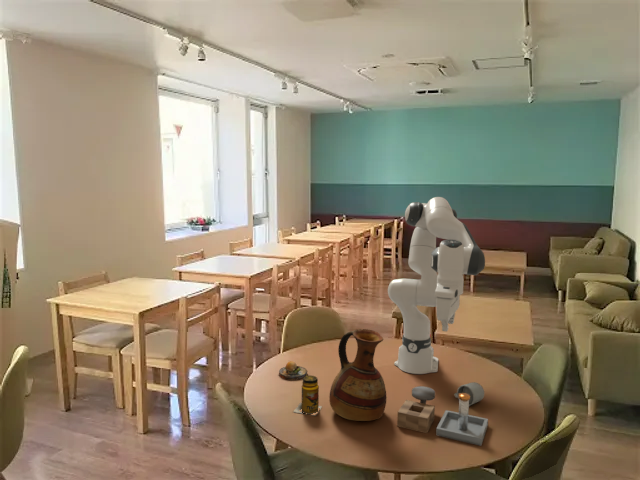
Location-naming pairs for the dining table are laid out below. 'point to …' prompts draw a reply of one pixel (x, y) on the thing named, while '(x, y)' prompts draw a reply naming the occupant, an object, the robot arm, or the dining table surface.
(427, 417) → the block
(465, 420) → the pin
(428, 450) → the dining table surface
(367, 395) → the ceramic pitcher
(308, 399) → the condiment
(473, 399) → the ceramic mug
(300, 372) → the burger
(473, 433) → the tray
